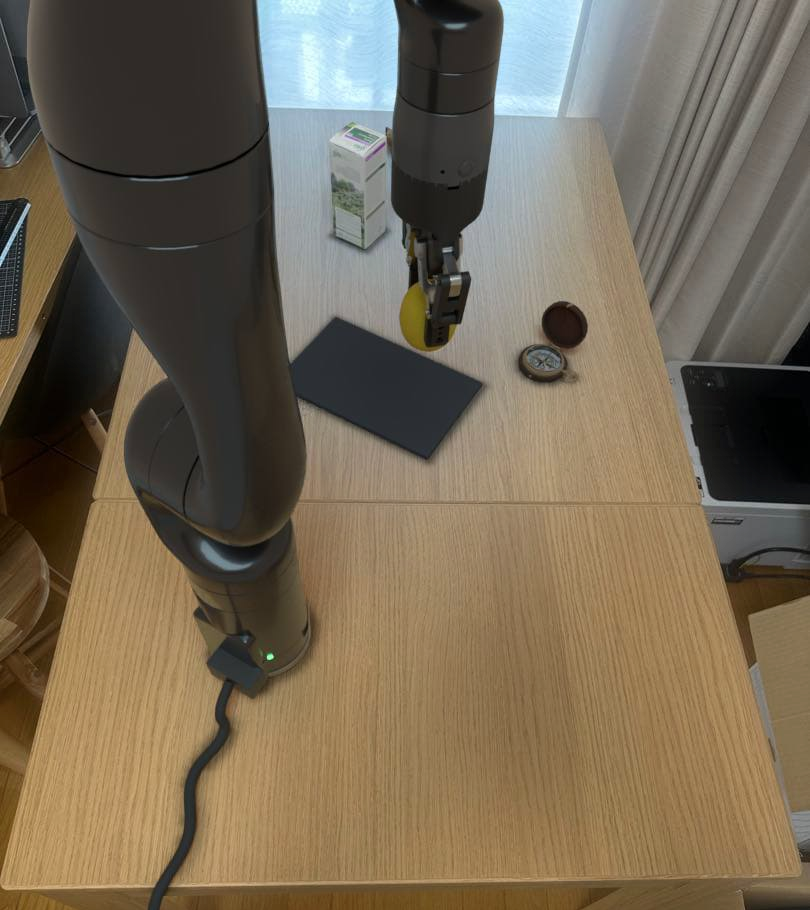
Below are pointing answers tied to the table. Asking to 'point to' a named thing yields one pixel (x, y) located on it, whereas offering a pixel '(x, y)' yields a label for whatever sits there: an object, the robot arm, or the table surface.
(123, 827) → the table surface
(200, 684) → the table surface
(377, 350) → the mat
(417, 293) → the lemon
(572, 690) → the table surface
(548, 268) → the table surface
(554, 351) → the compass
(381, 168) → the syrup box
